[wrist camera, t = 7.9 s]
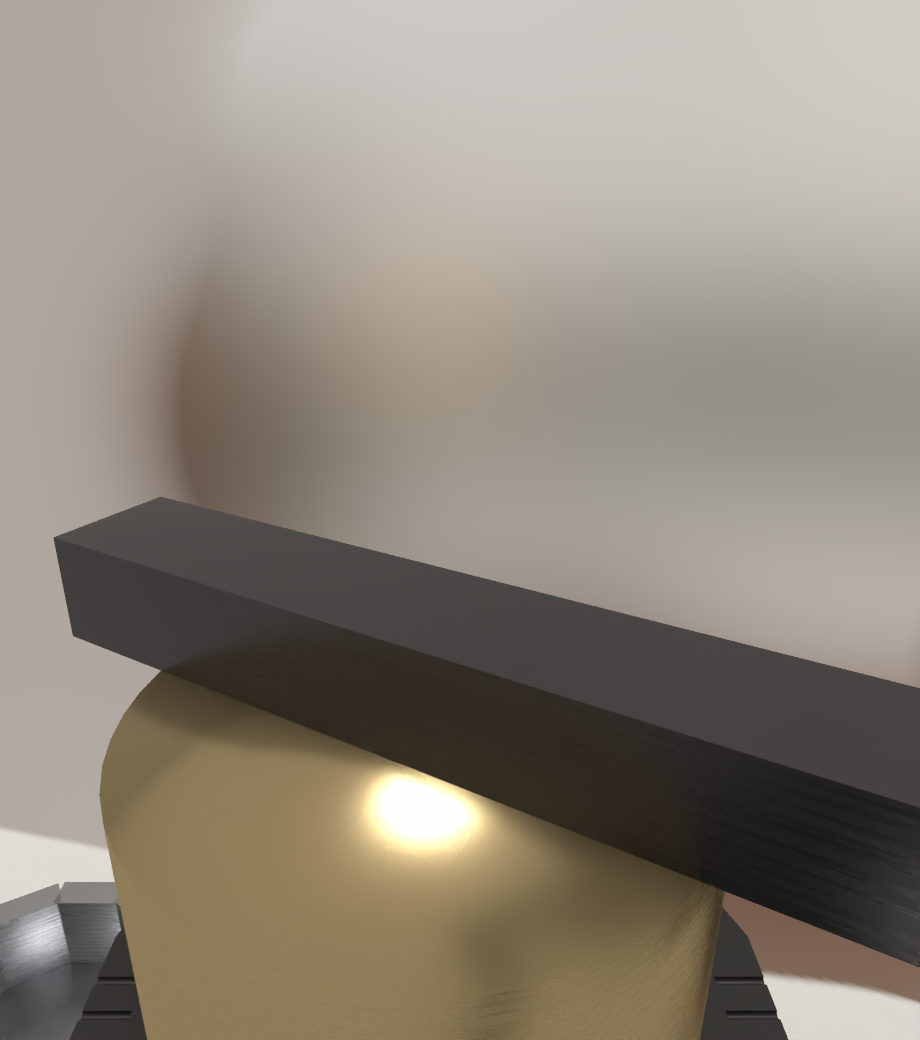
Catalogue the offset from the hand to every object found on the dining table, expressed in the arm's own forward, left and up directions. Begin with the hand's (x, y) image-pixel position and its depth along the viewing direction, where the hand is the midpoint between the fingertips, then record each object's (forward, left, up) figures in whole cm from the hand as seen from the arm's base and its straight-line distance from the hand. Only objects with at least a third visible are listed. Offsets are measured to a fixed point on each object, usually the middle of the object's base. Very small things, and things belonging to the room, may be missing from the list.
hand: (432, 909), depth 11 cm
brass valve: (+2, +1, -7) cm, 7 cm away
